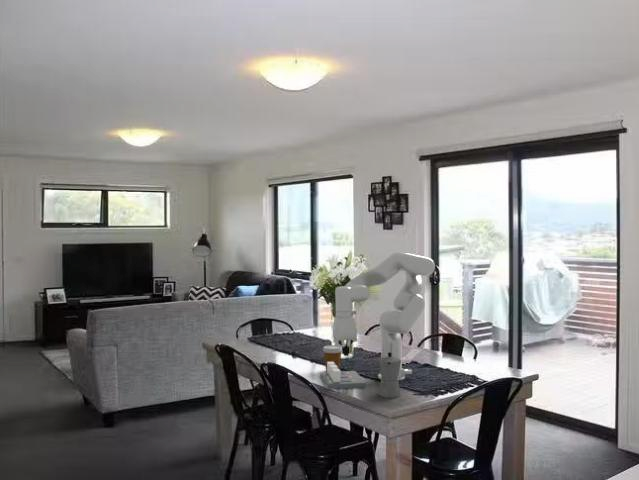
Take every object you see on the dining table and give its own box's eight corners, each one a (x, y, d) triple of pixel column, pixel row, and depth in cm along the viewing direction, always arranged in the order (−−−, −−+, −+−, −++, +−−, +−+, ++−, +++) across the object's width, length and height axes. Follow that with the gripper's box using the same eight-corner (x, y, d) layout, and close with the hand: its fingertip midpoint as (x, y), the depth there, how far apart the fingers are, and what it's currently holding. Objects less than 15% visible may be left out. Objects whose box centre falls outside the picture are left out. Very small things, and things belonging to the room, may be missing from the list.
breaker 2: (336, 375, 280) (336, 364, 279) (337, 378, 275) (337, 367, 275) (329, 376, 279) (329, 365, 279) (331, 378, 275) (331, 367, 275)
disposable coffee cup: (325, 374, 292) (325, 349, 291) (320, 369, 301) (320, 345, 300) (344, 373, 294) (344, 348, 294) (338, 368, 303) (338, 344, 303)
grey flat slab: (355, 375, 290) (355, 370, 290) (365, 387, 268) (365, 382, 268) (320, 376, 287) (320, 372, 287) (327, 388, 266) (327, 384, 266)
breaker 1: (333, 372, 286) (333, 361, 286) (335, 374, 282) (335, 363, 282) (327, 372, 286) (327, 361, 286) (328, 374, 282) (328, 363, 281)
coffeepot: (400, 399, 249) (400, 356, 249) (377, 398, 251) (377, 355, 250) (401, 389, 264) (401, 348, 264) (379, 388, 266) (379, 347, 265)
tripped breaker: (338, 379, 273) (338, 368, 272) (340, 382, 268) (340, 370, 268) (332, 379, 272) (332, 368, 272) (333, 382, 268) (333, 371, 268)
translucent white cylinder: (421, 350, 321) (389, 356, 304) (421, 361, 321) (389, 368, 304) (412, 348, 325) (380, 354, 309) (412, 359, 325) (380, 366, 309)
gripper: (359, 312, 275) (360, 352, 276) (326, 314, 273) (328, 354, 273) (362, 314, 267) (364, 355, 268) (329, 316, 265) (330, 358, 266)
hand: (345, 355), depth 271 cm, fingers closed
